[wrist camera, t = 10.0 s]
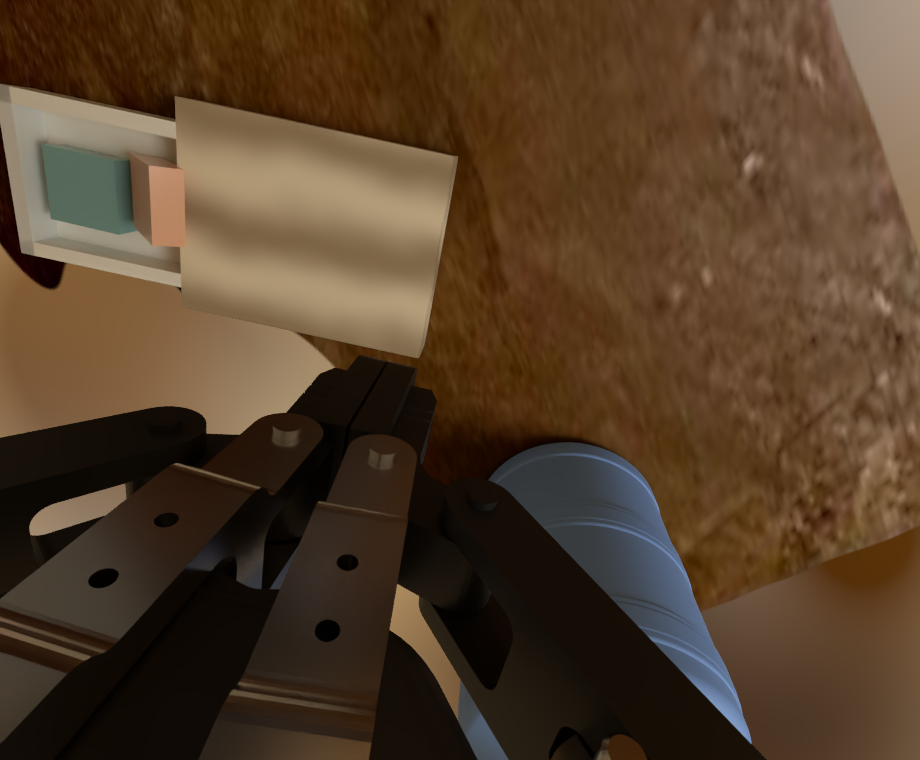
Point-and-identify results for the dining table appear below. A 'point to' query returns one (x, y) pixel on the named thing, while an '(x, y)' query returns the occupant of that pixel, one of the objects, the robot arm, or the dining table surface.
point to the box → (94, 128)
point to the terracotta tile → (158, 200)
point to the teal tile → (89, 188)
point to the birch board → (310, 226)
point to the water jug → (612, 563)
